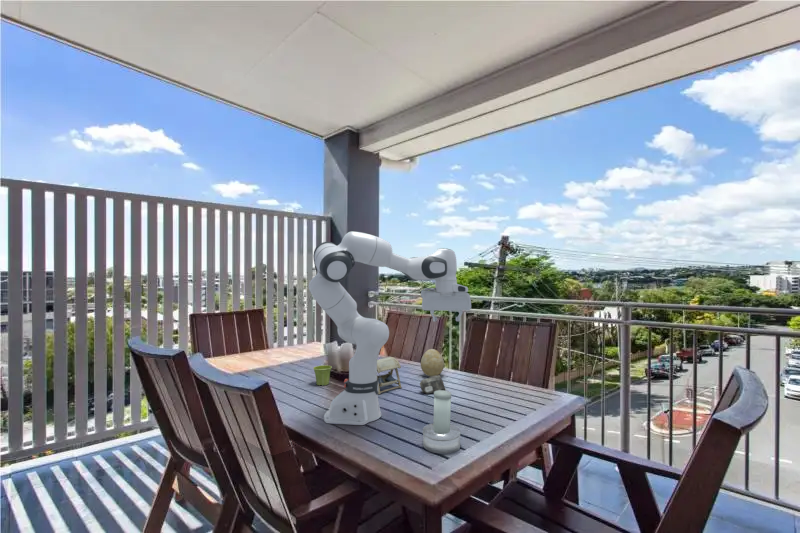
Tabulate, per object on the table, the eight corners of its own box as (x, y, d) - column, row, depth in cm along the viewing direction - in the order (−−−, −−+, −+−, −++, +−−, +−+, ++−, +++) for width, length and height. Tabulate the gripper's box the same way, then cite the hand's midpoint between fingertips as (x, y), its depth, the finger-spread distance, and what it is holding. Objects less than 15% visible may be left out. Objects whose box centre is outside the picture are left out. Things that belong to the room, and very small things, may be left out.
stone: (434, 405, 172) (424, 386, 171) (424, 403, 178) (414, 385, 177) (453, 386, 180) (443, 367, 179) (443, 385, 186) (434, 367, 185)
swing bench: (379, 395, 174) (379, 363, 174) (366, 390, 181) (366, 360, 181) (402, 388, 184) (401, 358, 185) (389, 384, 191) (388, 355, 191)
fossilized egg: (432, 372, 213) (432, 345, 214) (449, 376, 204) (448, 349, 204) (416, 376, 205) (415, 348, 206) (432, 381, 196) (431, 352, 196)
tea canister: (433, 432, 120) (434, 395, 120) (432, 425, 126) (433, 389, 126) (450, 433, 120) (452, 396, 120) (449, 426, 125) (450, 390, 126)
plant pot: (311, 383, 195) (311, 366, 195) (329, 380, 199) (329, 364, 199) (315, 387, 186) (315, 370, 187) (334, 385, 190) (333, 368, 191)
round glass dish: (424, 455, 116) (424, 439, 116) (421, 437, 128) (421, 423, 129) (464, 454, 116) (464, 438, 117) (457, 436, 129) (456, 422, 129)
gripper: (421, 287, 151) (421, 322, 150) (471, 287, 151) (472, 322, 151) (420, 287, 157) (420, 320, 157) (468, 287, 158) (469, 320, 157)
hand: (446, 321), depth 154 cm, fingers open, 8 cm apart
